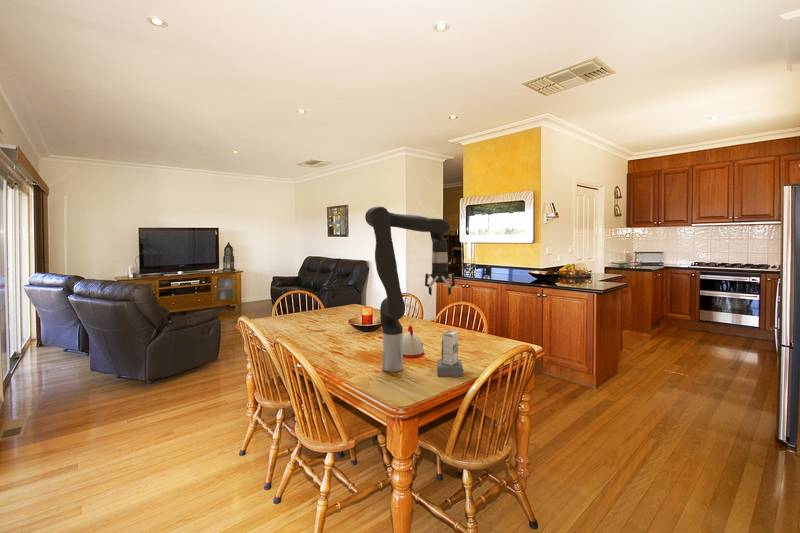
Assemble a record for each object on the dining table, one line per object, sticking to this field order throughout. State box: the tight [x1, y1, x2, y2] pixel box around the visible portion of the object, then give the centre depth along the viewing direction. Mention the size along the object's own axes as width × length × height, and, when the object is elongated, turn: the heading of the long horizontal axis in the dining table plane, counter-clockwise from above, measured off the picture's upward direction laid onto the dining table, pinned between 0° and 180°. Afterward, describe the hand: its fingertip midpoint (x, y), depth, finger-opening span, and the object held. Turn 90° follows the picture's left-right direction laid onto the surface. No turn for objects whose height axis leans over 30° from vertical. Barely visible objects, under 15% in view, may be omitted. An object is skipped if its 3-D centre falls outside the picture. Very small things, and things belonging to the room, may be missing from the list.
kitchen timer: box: [403, 325, 425, 359], centre depth 204 cm, size 14×14×15 cm
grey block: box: [436, 358, 464, 378], centre depth 177 cm, size 11×11×4 cm
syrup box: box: [440, 329, 459, 366], centre depth 176 cm, size 6×6×14 cm
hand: (439, 295), depth 188 cm, fingers open, 8 cm apart
